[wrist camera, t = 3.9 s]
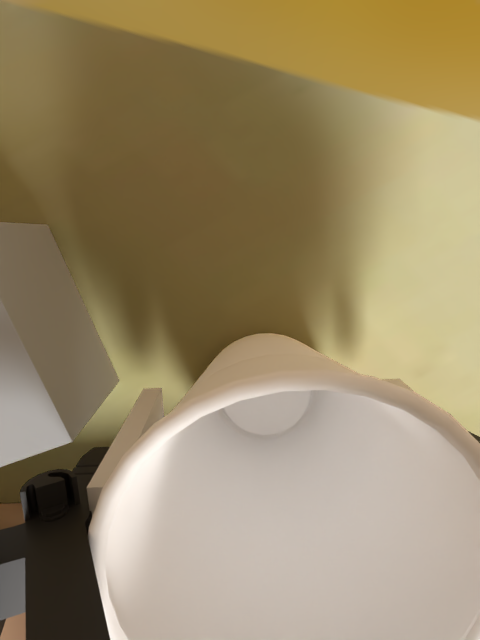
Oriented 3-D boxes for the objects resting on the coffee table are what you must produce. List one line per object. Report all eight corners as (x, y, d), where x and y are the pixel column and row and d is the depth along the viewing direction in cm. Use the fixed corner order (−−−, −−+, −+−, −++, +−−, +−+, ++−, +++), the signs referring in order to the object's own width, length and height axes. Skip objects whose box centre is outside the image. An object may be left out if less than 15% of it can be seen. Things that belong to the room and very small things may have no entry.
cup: (328, 497, 21) (427, 772, 10) (146, 454, 20) (48, 701, 10) (392, 322, 19) (597, 437, 8) (192, 268, 18) (134, 316, 8)
